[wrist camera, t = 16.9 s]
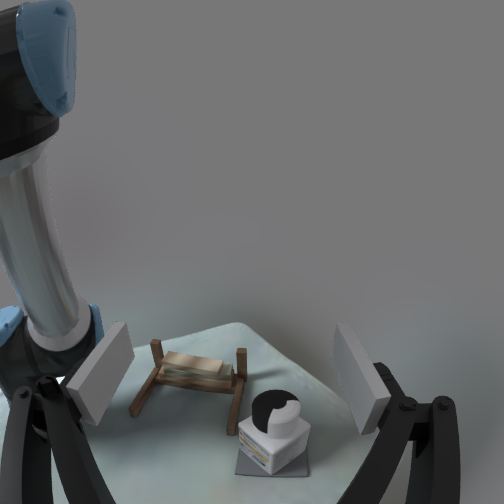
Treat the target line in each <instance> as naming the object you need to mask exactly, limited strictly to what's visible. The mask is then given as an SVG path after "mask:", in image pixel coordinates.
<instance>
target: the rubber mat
mask: <svg viewBox="0 0 504 504" xmlns="http://www.w3.org/2000/svg"><path fill="white" fill-rule="evenodd" d="M235 475H245V476H258V477H307V476H308V474H307V445H306V448H305V450H304V451H303V452H302V453H301V454H300V455H298V456H297V457H296V458H294V459H293V460H292V461H291V462H289V463H288V464H287V465H285V466H284V467H282V468H281V469H280V470H278V471H277V472H275V473H274V474H272V475H270V474H269V473H267V472H266V471H265V470H264V469H263V468H262V467H260V466H259V465H258V464H257V463H256V462H255V461H253V460H252V459H251V458H250V457H249V456H248V455H247V454H246V453H244V452H243V451H242V450H241V449H239V455H238V460H237V466H236V471H235Z"/></svg>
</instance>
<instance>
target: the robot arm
mask: <svg viewBox="0 0 504 504" xmlns="http://www.w3.org/2000/svg"><path fill="white" fill-rule="evenodd" d="M75 79H76V20H75V12H74V9H73V7H72V5H71V4H70V3H69V2H68V1H66V0H45V1H39V2H32V3H29V2H25V3H23V4H21V5H19V6H15V7H12V8H9V9H6V10H3V11H0V260H1V262H2V265H3V267H4V269H5V271H6V274H7V276H8V278H9V280H10V282H11V284H12V286H13V288H14V290H15V292H16V294H17V296H18V298H19V300H20V302H21V303H22V305H23V307H24V309H25V311H26V313H27V314H28V316H24V313H23V311H22V309H21V308H20V307H19V306H9V307H5V308H3V309H1V310H0V388H1V390H2V391H3V393H4V395H5V396H6V398H7V401H8V404H9V407H10V412H9V416H8V421H7V426H6V431H5V437H4V443H3V450H2V458H1V468H0V504H54V503H53V493H52V477H51V448H52V452H53V456H54V460H55V463H56V467H57V470H58V473H59V477H60V480H61V483H62V486H63V488H64V491H65V494H66V497H67V499H68V502H69V504H116V503H115V501H114V499H113V497H112V495H111V493H110V491H109V490H108V488H107V486H106V484H105V481H104V479H103V477H102V475H101V473H100V471H99V469H98V466H97V464H96V462H95V459H94V457H93V454H92V452H91V449H90V447H89V444H88V442H87V439H86V436H85V433H84V430H83V427H82V424H81V423H80V421H79V420H80V419H81V417H83V419H84V421H85V422H86V423H88V424H91V425H94V426H98V425H99V423H100V421H101V419H102V417H103V415H104V413H105V411H106V409H107V407H108V405H109V403H110V401H111V399H112V397H113V396H114V394H115V392H116V390H117V388H118V386H119V384H120V382H121V381H122V379H123V377H124V375H125V373H126V372H127V370H128V368H129V366H130V364H131V363H132V361H133V359H134V357H135V355H134V352H133V348H132V344H131V340H130V336H129V332H128V328H127V324H126V322H117V321H116V322H115V323H114V325H113V326H112V327H111V328H110V329H109V331H108V332H107V333H106V335H105V336H104V331H103V326H102V321H101V316H100V311H99V308H98V306H97V305H96V304H87V301H86V300H85V299H84V298H83V297H82V296H81V295H80V294H78V293H77V292H75V291H74V289H73V286H72V283H71V280H70V277H69V273H68V270H67V267H66V263H65V259H64V256H63V251H62V248H61V244H60V239H59V235H58V231H57V226H56V221H55V216H54V210H53V204H52V198H51V191H50V184H49V176H48V167H47V155H46V149H47V147H48V145H49V144H50V143H51V141H52V140H53V139H54V138H55V136H56V135H57V133H58V132H59V117H62V116H63V115H65V114H67V113H69V112H70V111H71V110H72V108H73V105H74V97H75ZM330 359H331V362H332V364H333V367H334V369H335V372H336V374H337V377H338V379H339V382H340V384H341V387H342V389H343V392H344V394H345V397H346V399H347V402H348V404H349V407H350V410H351V412H352V415H353V417H354V420H355V423H356V425H357V428H358V431H359V433H360V435H364V434H369V433H373V432H374V431H375V430H376V428H377V426H378V427H379V429H380V432H379V434H378V436H377V438H376V440H375V442H374V444H373V446H372V448H371V450H370V451H369V453H368V455H367V457H366V459H365V460H364V462H363V464H362V466H361V467H360V469H359V471H358V472H357V474H356V475H355V477H354V479H353V480H352V482H351V483H350V485H349V486H348V488H347V489H346V491H345V492H344V494H343V495H342V497H341V498H340V500H339V501H338V502H337V504H379V502H380V500H381V498H382V497H383V494H384V493H385V491H386V489H387V487H388V485H389V483H390V481H391V479H392V477H393V474H394V473H395V470H396V468H397V466H398V464H399V461H400V459H401V457H402V454H403V452H404V449H405V447H406V444H407V442H408V441H413V450H412V462H411V470H410V478H409V485H408V491H407V497H406V503H405V504H459V501H460V447H459V434H458V424H457V416H456V409H455V404H454V401H453V400H452V399H451V398H449V397H447V396H438V397H436V398H435V399H434V400H433V402H432V403H429V404H427V403H426V404H420V403H418V402H417V401H416V400H415V399H413V398H411V397H406V396H405V394H404V393H403V391H402V390H401V388H400V386H399V385H398V383H397V381H396V380H395V379H394V377H393V375H392V374H391V372H390V370H389V369H388V368H387V366H385V365H384V364H382V363H381V362H379V363H373V364H372V362H371V360H370V359H369V357H368V355H367V353H366V352H365V350H364V348H363V347H362V345H361V344H360V342H359V340H358V339H357V337H356V335H355V334H354V332H353V330H352V329H351V327H350V326H349V324H348V323H341V324H336V330H335V335H334V341H333V347H332V353H331V358H330ZM63 376H65V378H64V379H63V380H62V382H61V383H60V384H58V382H57V380H56V378H57V377H63Z"/></svg>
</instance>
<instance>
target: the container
mask: <svg viewBox="0 0 504 504" xmlns="http://www.w3.org/2000/svg"><path fill="white" fill-rule="evenodd" d="M300 408H301V405H300V402H299V400H298V399H297V397H296V396H294V395H293V394H291V393H289V392H287V391H284V390H269V391H265V392H263V393H261V394H259V395H258V396H257V397H256V398H255V399H254V400H253V403H252V416H250V417H248V418H247V419H245V420H243V421H241V422H240V423H239V424H238V428H239V440H240V449H241V450H242V451H243V452H244V453H246V454H247V455H248V456H249V457H250V458H251V459H252V460H253V461H255V462H256V463H257V464H258V465H259V466H260V467H262V468H263V469H264V470H265V471H266V472H267V473H269V474H270V475H272V474H274V473H275V472H277V471H278V470H280V469H281V468H282V467H284V466H285V465H287V464H288V463H289V462H291V461H292V460H293V459H294V458H296V457H297V456H298V455H300V454H301V453H302V452H303V451H304V450H305V448H306V445H307V441H308V437H309V433H310V429H311V425H310V424H309V423H308V422H306V421H305V420H303V419H302V418H300V417H299V415H300Z"/></svg>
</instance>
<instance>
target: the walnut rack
mask: <svg viewBox="0 0 504 504" xmlns="http://www.w3.org/2000/svg"><path fill="white" fill-rule="evenodd" d="M150 345H151V350H152V354H153V358H154V362H155V366H156V368H155V367H154V369H153V371H152V372H151V374H150V375H149V377H148V378H147V380H146V382H145V383H144V385H143V386H142V388H141V390H140V391H139V393H138V394H137V396H136V398H135V399H134V401H133V402H132V404H131V406H130V407H129V409H128V410H129V412H130V414H131V416H134V417H137V415H138V414H139V412H140V410H141V408H142V407H143V405H144V403H145V401H146V400H147V398H148V396H149V394H150V393H151V391H152V389H153V388H154V386H155V384H156V383H159V384H164V385H169V386H175V387H181V388H187V389H194V390H201V391H209V392H217V393H227V394H234V399H233V403H232V407H231V412H230V416H229V420H228V425H227V435H234V434H235V429H236V424H237V419H238V414H239V409H240V404H241V399H242V394H243V389H244V382H246V381H247V350H246V348H238V349H237V353H236V355H237V374H234V378H233V382H232V386H231V388H226V387H216V386H207V385H200V384H192V383H185V382H179V381H173V380H167V379H162V378H160V377H159V371H160V370H161V368H162V363H161V360H162V359H163V358H164V355H163V350H162V345H161V340H157V339H153V340H152V341H151V343H150Z"/></svg>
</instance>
